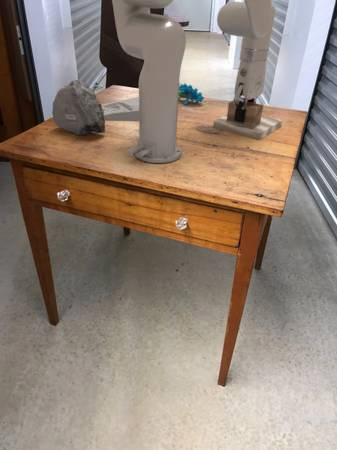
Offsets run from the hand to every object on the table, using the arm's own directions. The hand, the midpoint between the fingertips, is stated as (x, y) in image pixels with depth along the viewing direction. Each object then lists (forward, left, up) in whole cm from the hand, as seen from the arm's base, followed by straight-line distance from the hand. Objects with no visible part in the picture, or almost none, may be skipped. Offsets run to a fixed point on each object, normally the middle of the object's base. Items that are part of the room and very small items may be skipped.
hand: (243, 118), depth 110 cm
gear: (+12, +28, -4) cm, 31 cm away
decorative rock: (-36, +34, -4) cm, 50 cm away
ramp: (-13, +34, -4) cm, 37 cm away
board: (+4, 0, -3) cm, 5 cm away
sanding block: (0, 0, -1) cm, 1 cm away
